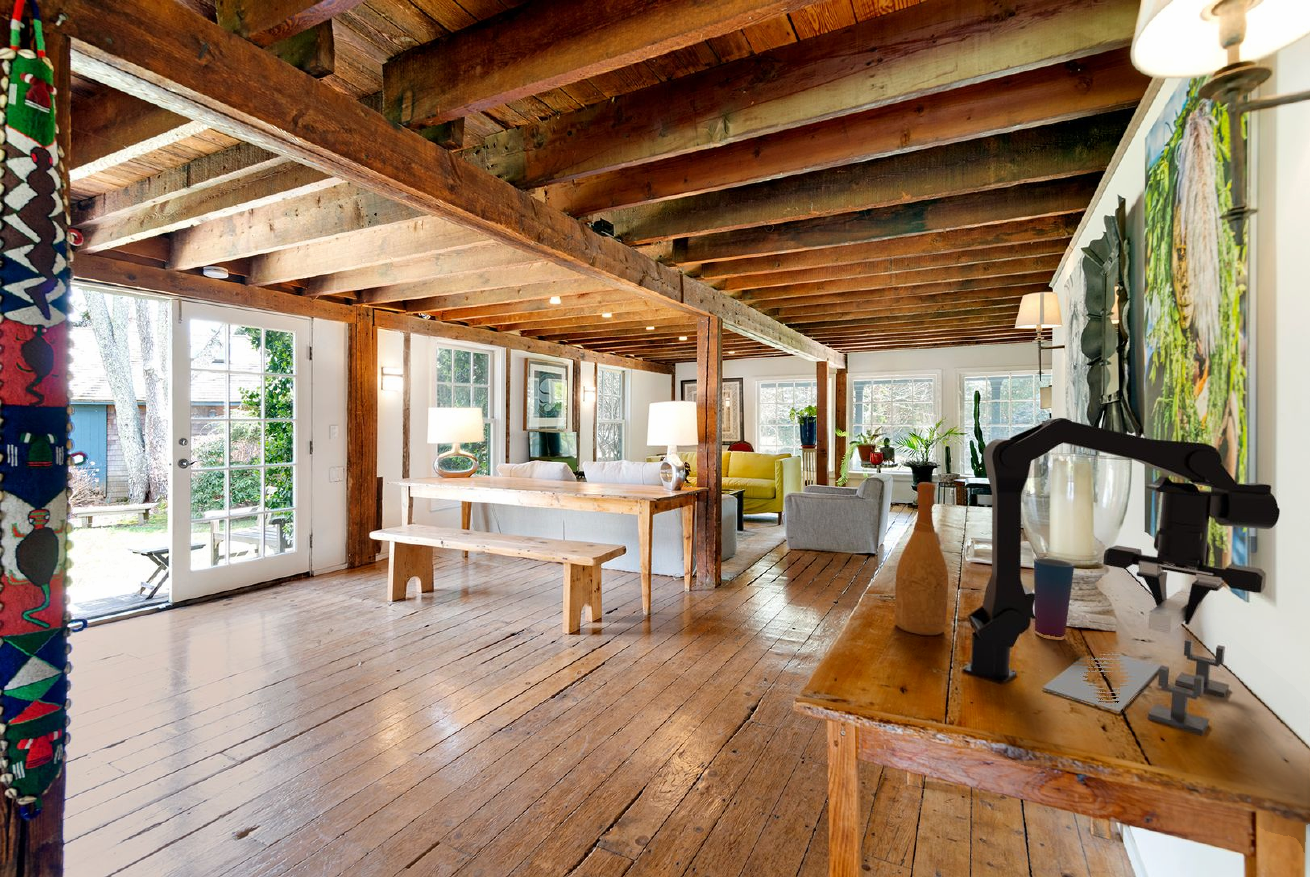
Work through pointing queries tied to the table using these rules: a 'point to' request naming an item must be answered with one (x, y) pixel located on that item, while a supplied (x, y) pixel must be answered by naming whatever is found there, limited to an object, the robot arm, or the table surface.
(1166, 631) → the rail
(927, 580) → the wine bottle
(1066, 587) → the cup
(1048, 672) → the table surface
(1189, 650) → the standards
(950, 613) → the table surface
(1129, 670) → the mat
